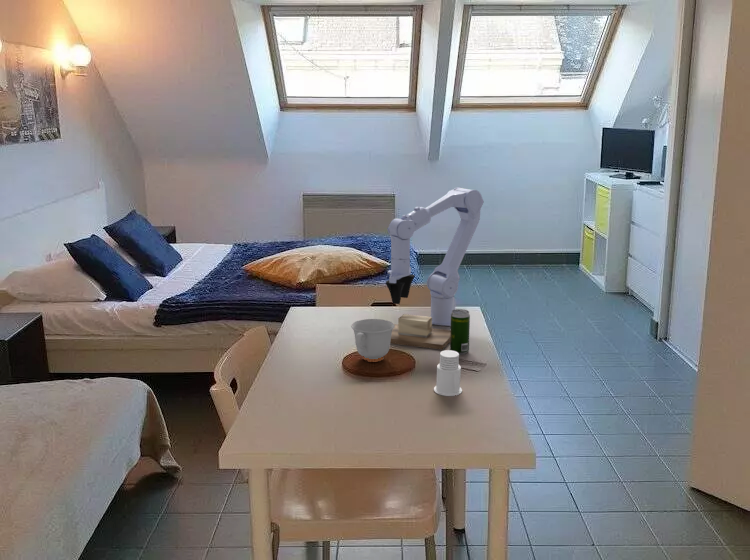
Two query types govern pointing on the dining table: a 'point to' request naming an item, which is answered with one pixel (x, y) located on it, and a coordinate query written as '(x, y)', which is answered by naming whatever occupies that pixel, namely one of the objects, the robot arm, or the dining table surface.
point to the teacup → (372, 337)
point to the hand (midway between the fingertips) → (400, 300)
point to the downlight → (448, 374)
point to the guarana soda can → (460, 331)
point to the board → (422, 339)
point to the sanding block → (415, 325)
